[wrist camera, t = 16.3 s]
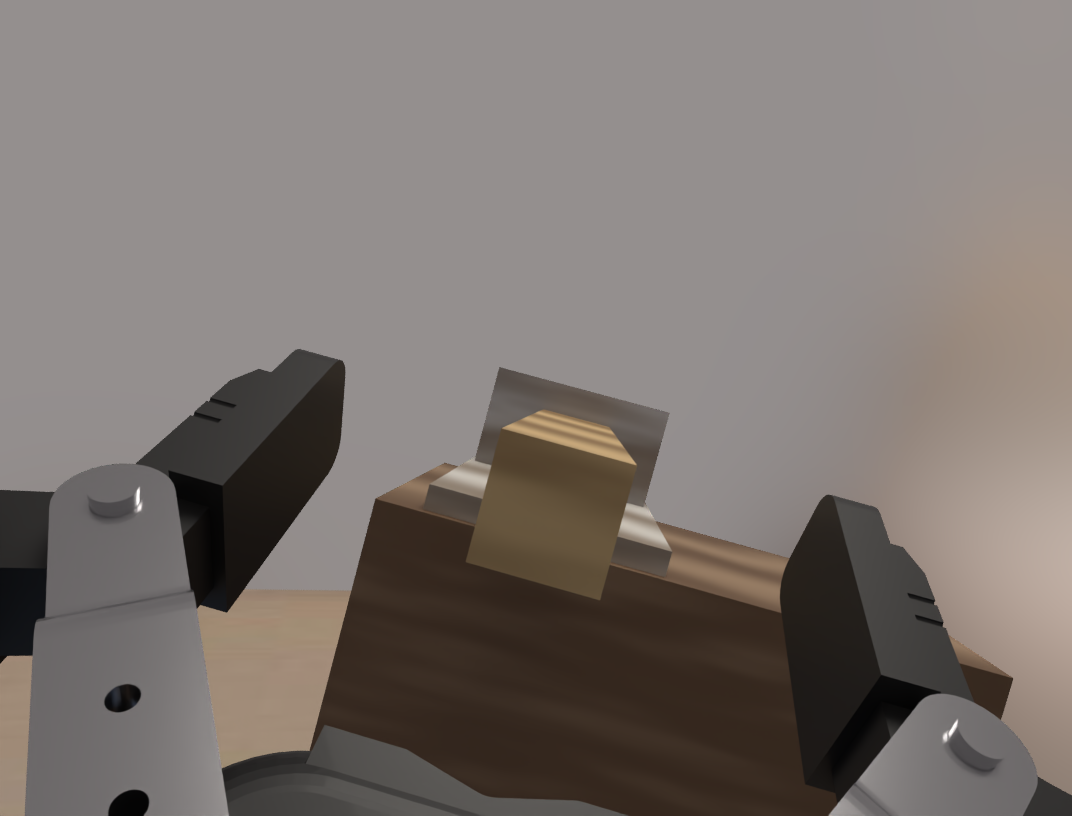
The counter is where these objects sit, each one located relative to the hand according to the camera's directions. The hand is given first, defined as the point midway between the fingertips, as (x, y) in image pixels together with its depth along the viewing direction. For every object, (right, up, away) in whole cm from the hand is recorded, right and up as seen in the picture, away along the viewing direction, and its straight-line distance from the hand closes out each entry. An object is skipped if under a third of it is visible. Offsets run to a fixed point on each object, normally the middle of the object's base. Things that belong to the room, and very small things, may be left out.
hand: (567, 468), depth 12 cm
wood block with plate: (0, -3, +17) cm, 18 cm away
